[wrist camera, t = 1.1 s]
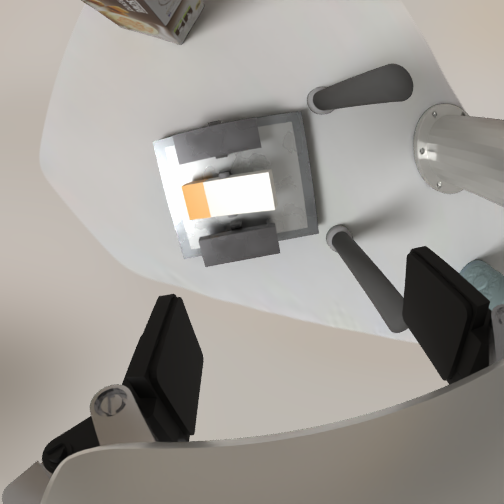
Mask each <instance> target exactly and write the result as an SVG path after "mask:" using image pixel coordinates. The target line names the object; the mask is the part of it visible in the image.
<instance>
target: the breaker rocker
mask: <svg viewBox="0 0 504 504" xmlns="http://www.w3.org/2000/svg"><path fill="white" fill-rule="evenodd" d="M181 190H182V194H183V198H184V202H185V206H186V210H187V214H188V218H189V220H194V219H202V218H210V217H216V216H224V215H228V218H233V217H236V216H238V214H242V213H251V212H260V211H270V210H275V209H276V207H277V205H278V203H277V197H276V191H275V186H274V180H273V174H272V169H269V170H262V171H254V172H248V173H241V174H234V175H229V172H225V173H221V174H219V177H216V178H210V179H203V180H198V181H192V182H188V183H186V184H184V185H182V186H181Z"/></svg>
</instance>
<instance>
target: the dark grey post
mask: <svg viewBox="0 0 504 504" xmlns="http://www.w3.org/2000/svg"><path fill="white" fill-rule="evenodd" d="M412 91H413V81H412V78H411V76H410V74H409V73H408V72H407V70H406V69H404V68H403V67H402V66H400V65H397V64H388V65H385V66H382V67H379V68H376V69H374V70H371V71H368V72H365V73H363V74H360V75H357V76H355V77H352V78H349V79H347V80H344V81H342V82H339V83H337V84H334V85H332V86H329V87H327V88H326V87H318V88H316V89H314V90H312V91H311V92H310V93H309V94H308V97H307V104H308V106H309V108H310V109H311V110H312V111H313V112H314V113H316V114H328V113H331V112H332V111H333V110H334V109H339V108H345V107H353V106H360V105H368V104H377V103H387V102H398V101H405V100H407V99H408V98H409V97H410V96H411V94H412Z"/></svg>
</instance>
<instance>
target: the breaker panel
mask: <svg viewBox="0 0 504 504" xmlns="http://www.w3.org/2000/svg"><path fill="white" fill-rule="evenodd" d="M208 125H209V127H204V128H200V129H196V130H192V131H188V132H184V133H180V134H176V135H172V137H168V138H164V139H161V140H157V141H154V142H153V145H154V149H155V154H156V158H157V162H158V166H159V170H160V174H161V178H162V182H163V186H164V190H165V194H166V197H167V201H168V205H169V208H170V212H171V216H172V219H173V223H174V226H175V230H176V233H177V237H178V240H179V244H180V247H181V251H182V254H183V257H184V259H186V258H191V257H197V256H203V260H204V263H205V267H208V266H213V265H219V264H224V263H229V262H235V261H240V260H246V259H251V258H256V257H262V256H267V255H272V254H278V253H280V249H279V243H278V241H281V240H286V239H292V238H297V237H302V236H308V235H313V234H319V231H318V222H317V214H316V205H315V197H314V190H313V183H312V175H311V168H310V162H309V155H308V149H307V143H306V136H305V130H304V125H303V119H302V113H301V111H299V112H291V113H284V114H277V115H271V116H265V117H259V118H256V117H253V118H248V119H242V120H237V121H232V122H227V123H221V121H216V122H211V123H208ZM269 169H272V174H273V180H274V186H275V191H276V197H277V203H278V205H277V207H276V209H275V210H270V211H260V212H251V213H242V214H238V216H236V217H233V218H228V215H224V216H216V217H210V218H202V219H194V220H189V218H188V214H187V210H186V206H185V202H184V198H183V194H182V190H181V186H182V185H184V184H186V183H188V182H192V181H198V180H203V179H210V178H216V177H219V174H221V173H225V172H229V175H234V174H241V173H248V172H254V171H262V170H269Z"/></svg>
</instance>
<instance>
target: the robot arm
mask: <svg viewBox="0 0 504 504" xmlns="http://www.w3.org/2000/svg"><path fill="white" fill-rule="evenodd" d="M413 145H414V156H415V162H416V165H417V167H418V170H419V172H420V174H421V176H422V178H423V179H424V180H425V181H426V183H427V184H428V185H430V186H431V187H432V188H433V189H435V190H437V191H440V192H442V193H446V194H453V193H458V192H460V191H462V190H467V191H469V192H471V193H474V194H476V195H478V196H481V197H483V198H485V199H487V200H489V201H492V202H494V203H496V204H498V205H500V206H502V207H504V120H499V119H491V118H481V117H471V116H469V115H468V114H467V113H466V112H465V111H464V110H462V109H461V108H460V107H457V106H455V105H452V104H438V105H435V106H433V107H431V108H429V109H428V110H427V111H426V112H425V113H424V114H423V115H422V117H421V118H420V120H419V122H418V124H417V127H416V130H415V134H414V143H413ZM419 150H420V151H419ZM489 304H490V301H489V300H488V299H487V298H486V297H485V296H484V295H483V294H482V293H481V292H479V291H478V290H477V289H476V288H475V287H474V286H473V285H472V284H471V283H469V282H468V281H467V280H466V279H465V278H464V277H463V276H462V275H460V274H459V273H458V272H457V271H456V270H455V269H453V268H452V267H451V266H450V265H449V264H447V263H446V262H445V261H444V260H443V259H441V258H440V257H439V256H438V255H436V254H435V253H434V252H433V251H431V250H430V249H429V248H428V247H426V246H423V247H418V248H414V249H412V250H411V251H410V253H409V254H408V255H407V262H406V278H405V290H404V301H403V310H402V317H403V320H404V322H405V324H406V325H407V326H408V328H409V329H410V331H411V332H412V334H413V335H414V337H415V338H416V340H417V341H418V343H419V344H420V345H421V347H422V348H423V350H424V351H425V353H426V355H427V356H428V358H429V359H430V361H431V362H432V363H433V365H434V367H435V368H436V370H437V372H438V373H439V374H440V376H441V378H442V379H443V380H447V382H448V383H449V385H448V386H445V387H443V388H441V389H438V390H436V391H433V392H431V393H428V394H426V395H423V396H420V397H418V398H415V399H412V400H409V401H406V402H404V403H401V404H398V405H395V406H392V407H389V408H386V409H382V410H379V411H376V412H372V413H370V414H366V415H362V416H358V417H355V418H351V419H347V420H343V421H339V422H335V423H331V424H326V425H321V426H317V427H312V428H307V429H302V430H296V431H290V432H284V433H278V434H271V435H264V436H256V437H247V438H237V439H225V440H210V441H192V442H189V437H190V435H194V432H195V425H196V415H197V408H198V399H199V392H200V384H201V376H202V368H203V354H202V351H201V348H200V346H199V343H198V341H197V338H196V335H195V333H194V330H193V328H192V325H191V323H190V320H189V317H188V314H187V311H186V309H185V306H184V303H183V300H182V299H181V297H176V295H175V294H170V295H165V296H159V297H158V299H157V302H156V304H155V306H154V309H153V311H152V313H151V316H150V318H149V320H148V323H147V325H146V328H145V330H144V333H143V335H142V336H141V337H140V340H139V342H138V345H137V347H136V349H135V352H134V354H133V357H132V360H131V362H130V365H129V367H128V370H127V373H126V375H125V378H124V381H123V383H122V385H119V384H116V385H110V386H107V387H105V388H103V389H101V390H100V391H99V392H97V393H96V394H95V396H94V397H93V399H92V400H91V403H90V412H91V416H90V417H89V418H87V419H86V420H84V421H82V422H81V423H79V424H78V425H76V426H75V427H73V428H71V429H70V430H68V431H67V432H65V433H64V434H62V435H60V436H58V437H57V438H55V439H53V440H52V441H51V442H50V443H48V445H47V446H46V447H45V449H44V451H43V455H42V461H43V462H42V463H39V461H37V462H35V463H34V464H33V465H32V466H31V467H30V468H28V469H27V470H26V471H25V472H24V473H22V474H21V475H20V476H19V477H18V478H16V479H15V480H14V481H13V482H11V483H10V484H9V485H8V486H7V487H6V488H5V489H4V492H3V494H2V501H3V504H504V304H500V305H497V306H496V307H494V308H493V310H492V311H491V310H490V309H489Z"/></svg>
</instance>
